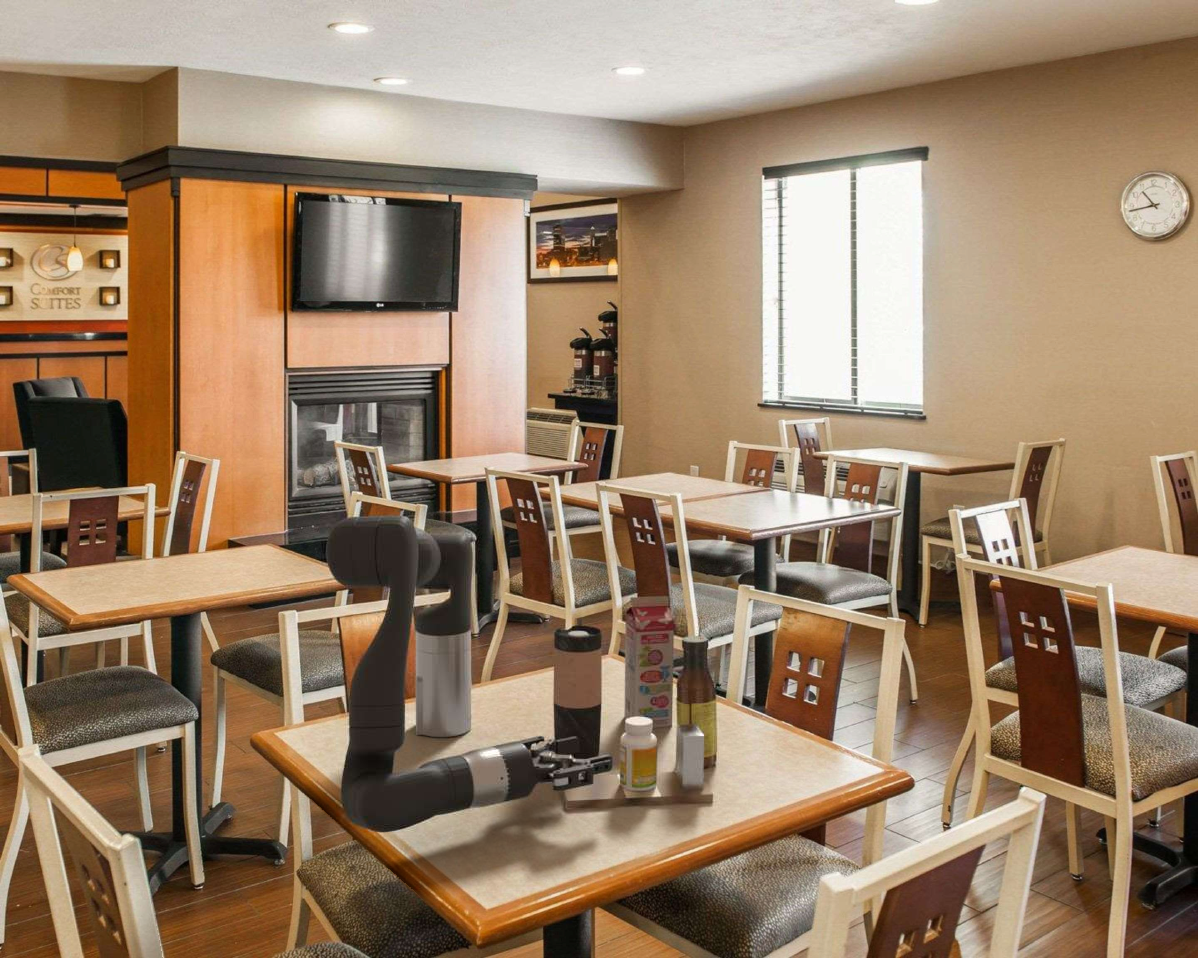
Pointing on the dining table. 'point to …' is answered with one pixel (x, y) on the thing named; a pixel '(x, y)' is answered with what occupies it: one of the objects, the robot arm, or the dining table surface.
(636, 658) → the juice carton
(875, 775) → the dining table surface
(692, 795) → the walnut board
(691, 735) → the silver rectangular block
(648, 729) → the supplement bottle
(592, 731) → the travel mug
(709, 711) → the sauce bottle
